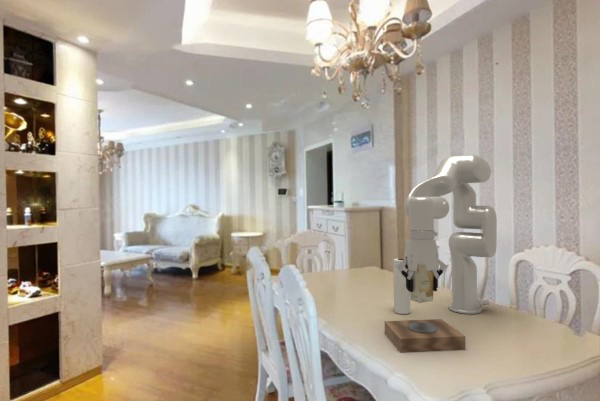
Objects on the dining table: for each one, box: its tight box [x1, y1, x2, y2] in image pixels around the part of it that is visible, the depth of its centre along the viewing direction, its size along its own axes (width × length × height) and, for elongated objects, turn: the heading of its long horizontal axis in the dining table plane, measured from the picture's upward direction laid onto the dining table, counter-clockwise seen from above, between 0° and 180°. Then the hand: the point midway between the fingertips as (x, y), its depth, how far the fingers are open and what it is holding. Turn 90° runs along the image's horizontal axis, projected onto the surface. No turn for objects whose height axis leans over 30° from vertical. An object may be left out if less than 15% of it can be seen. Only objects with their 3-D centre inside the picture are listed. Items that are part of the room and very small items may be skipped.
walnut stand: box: [384, 318, 467, 353], centre depth 119 cm, size 20×16×4 cm
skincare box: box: [410, 264, 434, 304], centre depth 119 cm, size 6×4×12 cm
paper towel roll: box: [392, 257, 411, 315], centre depth 149 cm, size 7×6×21 cm
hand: (421, 290), depth 119 cm, fingers closed on skincare box, 7 cm apart
